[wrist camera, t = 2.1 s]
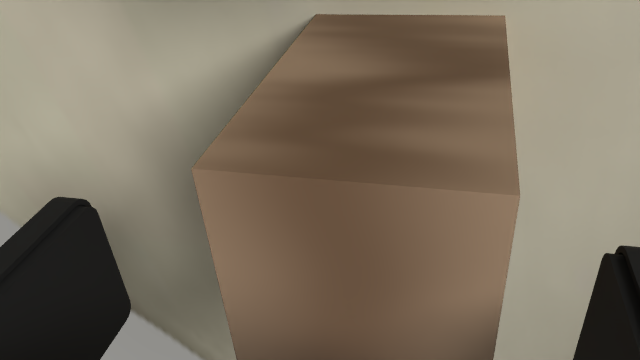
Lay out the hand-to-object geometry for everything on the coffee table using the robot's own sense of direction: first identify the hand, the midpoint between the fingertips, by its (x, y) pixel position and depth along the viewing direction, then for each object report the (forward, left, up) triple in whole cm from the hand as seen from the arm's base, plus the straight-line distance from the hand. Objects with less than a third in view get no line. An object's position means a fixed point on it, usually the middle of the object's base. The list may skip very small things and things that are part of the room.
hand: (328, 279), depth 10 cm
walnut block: (-1, 0, -7) cm, 7 cm away
